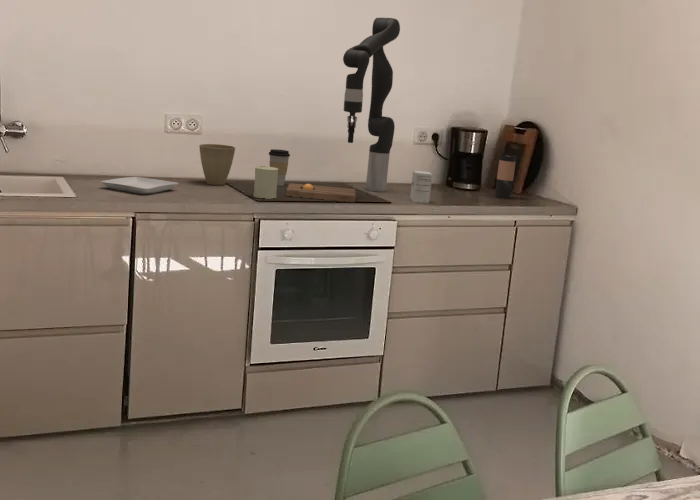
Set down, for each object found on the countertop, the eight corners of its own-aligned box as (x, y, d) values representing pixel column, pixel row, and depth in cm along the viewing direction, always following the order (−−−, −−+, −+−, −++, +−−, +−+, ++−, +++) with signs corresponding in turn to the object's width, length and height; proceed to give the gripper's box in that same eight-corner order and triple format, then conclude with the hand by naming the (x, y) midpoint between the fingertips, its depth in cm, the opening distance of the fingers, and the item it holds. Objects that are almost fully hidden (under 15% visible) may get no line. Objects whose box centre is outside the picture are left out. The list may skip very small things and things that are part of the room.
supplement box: (409, 199, 345) (412, 170, 342) (426, 200, 346) (429, 171, 343) (412, 202, 338) (415, 172, 335) (429, 203, 338) (432, 173, 336)
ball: (301, 189, 333) (306, 180, 333) (310, 195, 334) (315, 186, 333) (300, 191, 329) (305, 182, 328) (309, 197, 329) (315, 188, 329)
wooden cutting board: (289, 189, 341) (289, 183, 340) (354, 195, 342) (354, 189, 341) (286, 196, 321) (286, 190, 321) (355, 202, 322) (355, 196, 322)
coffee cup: (284, 187, 345) (287, 152, 342) (263, 184, 347) (265, 150, 344) (290, 184, 354) (292, 150, 351) (270, 182, 356) (272, 148, 353)
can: (266, 194, 322) (268, 164, 319) (281, 198, 315) (283, 168, 313) (248, 195, 315) (250, 165, 313) (262, 199, 309) (265, 168, 306)
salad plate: (99, 189, 299) (99, 180, 299) (134, 184, 319) (134, 175, 318) (146, 197, 292) (146, 188, 291) (179, 191, 311) (179, 182, 310)
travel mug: (511, 197, 380) (517, 155, 375) (509, 199, 372) (515, 157, 368) (495, 195, 382) (501, 153, 377) (493, 197, 375) (498, 155, 370)
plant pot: (203, 179, 344) (205, 142, 341) (237, 183, 342) (239, 146, 339) (192, 184, 330) (194, 145, 326) (227, 188, 328) (229, 149, 325)
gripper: (362, 101, 320) (359, 145, 324) (362, 100, 333) (359, 141, 337) (344, 100, 320) (341, 143, 324) (344, 98, 332) (341, 140, 337)
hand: (350, 142), depth 330 cm, fingers closed
